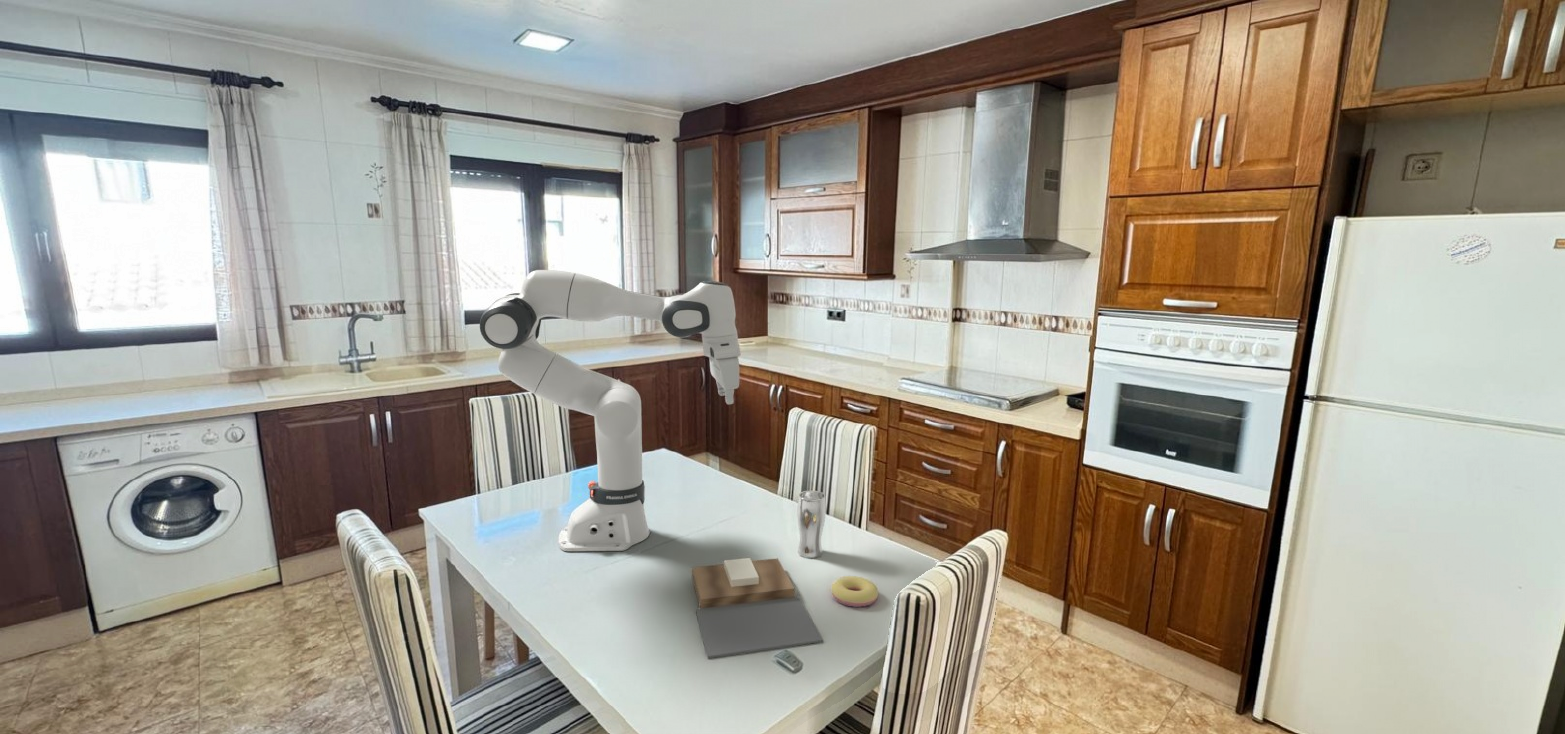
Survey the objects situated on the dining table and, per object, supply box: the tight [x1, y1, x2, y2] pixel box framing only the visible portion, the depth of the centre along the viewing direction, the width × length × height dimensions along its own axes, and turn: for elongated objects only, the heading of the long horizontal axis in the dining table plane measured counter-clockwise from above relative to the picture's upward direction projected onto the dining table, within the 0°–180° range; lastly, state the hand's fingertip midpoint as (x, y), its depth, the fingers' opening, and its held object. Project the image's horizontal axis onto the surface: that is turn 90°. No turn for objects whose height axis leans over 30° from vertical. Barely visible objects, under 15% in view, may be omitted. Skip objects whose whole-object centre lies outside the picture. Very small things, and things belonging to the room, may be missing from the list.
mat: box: [695, 596, 824, 660], centre depth 125 cm, size 22×16×1 cm
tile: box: [723, 557, 759, 587], centre depth 139 cm, size 6×9×2 cm, turn 15°
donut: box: [830, 575, 879, 608], centre depth 136 cm, size 10×5×9 cm
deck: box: [691, 558, 795, 609], centre depth 139 cm, size 20×14×2 cm
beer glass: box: [796, 490, 827, 559], centre depth 155 cm, size 7×7×15 cm
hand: (726, 399), depth 160 cm, fingers open, 8 cm apart
